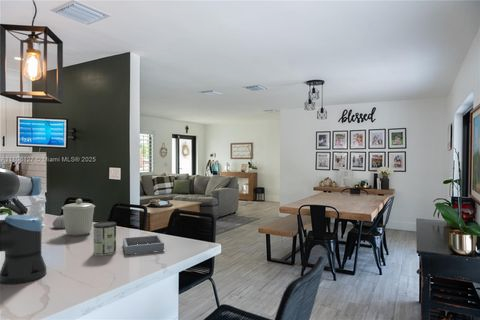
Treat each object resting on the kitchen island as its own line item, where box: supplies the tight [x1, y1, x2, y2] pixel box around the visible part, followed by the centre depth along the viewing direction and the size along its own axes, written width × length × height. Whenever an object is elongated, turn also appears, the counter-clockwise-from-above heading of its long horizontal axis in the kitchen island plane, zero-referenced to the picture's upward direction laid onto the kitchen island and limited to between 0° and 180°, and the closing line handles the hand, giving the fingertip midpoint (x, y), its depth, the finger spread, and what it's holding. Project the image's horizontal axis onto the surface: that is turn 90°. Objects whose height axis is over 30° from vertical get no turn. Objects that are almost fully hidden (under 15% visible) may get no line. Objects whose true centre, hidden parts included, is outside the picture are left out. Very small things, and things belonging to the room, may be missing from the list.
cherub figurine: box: [28, 194, 47, 228], centre depth 212 cm, size 12×12×22 cm
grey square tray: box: [122, 234, 165, 256], centre depth 164 cm, size 18×18×4 cm
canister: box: [61, 198, 96, 237], centre depth 194 cm, size 18×18×21 cm
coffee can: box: [92, 221, 117, 257], centre depth 156 cm, size 10×10×14 cm
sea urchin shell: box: [52, 214, 65, 229], centre depth 213 cm, size 13×14×8 cm
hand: (2, 224), depth 145 cm, fingers open, 13 cm apart
